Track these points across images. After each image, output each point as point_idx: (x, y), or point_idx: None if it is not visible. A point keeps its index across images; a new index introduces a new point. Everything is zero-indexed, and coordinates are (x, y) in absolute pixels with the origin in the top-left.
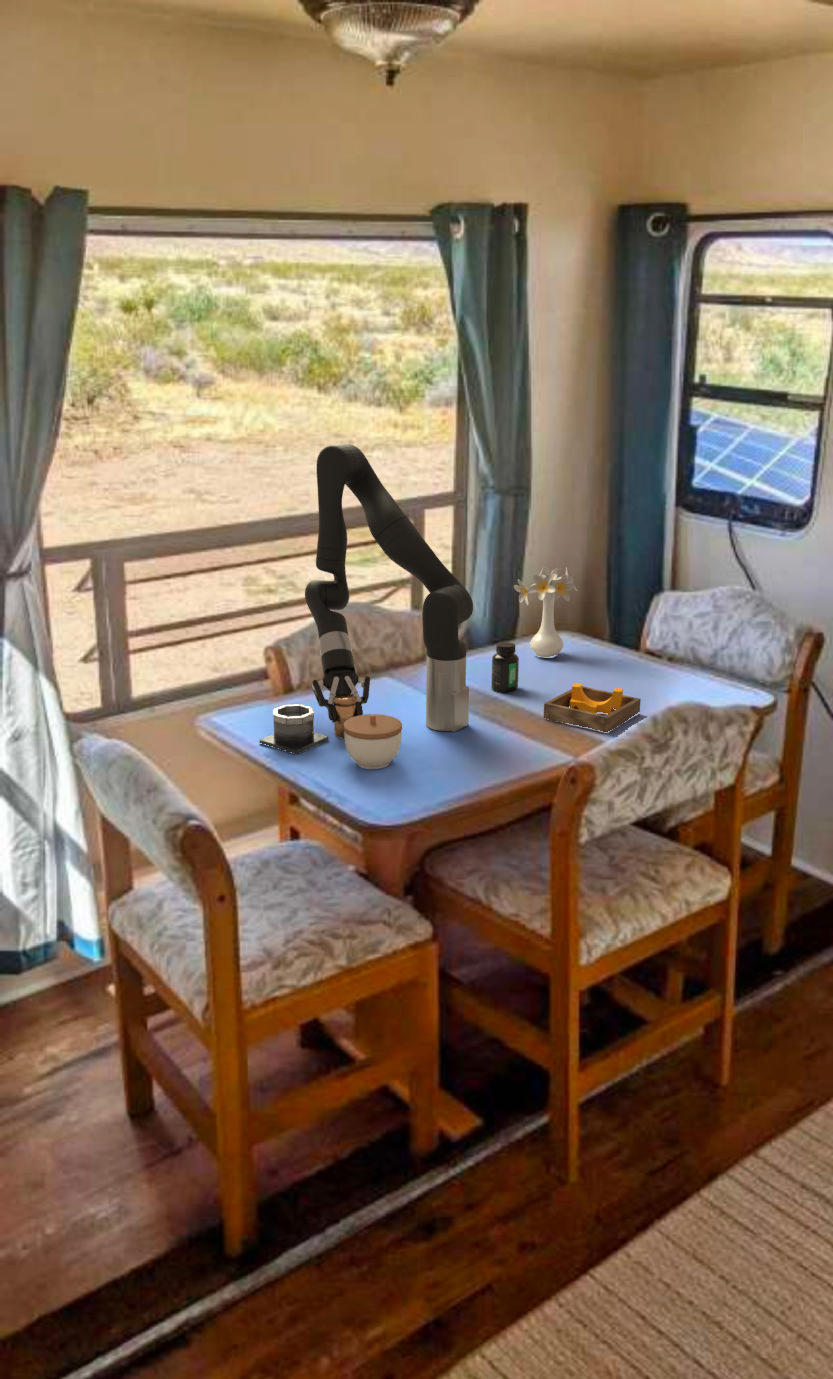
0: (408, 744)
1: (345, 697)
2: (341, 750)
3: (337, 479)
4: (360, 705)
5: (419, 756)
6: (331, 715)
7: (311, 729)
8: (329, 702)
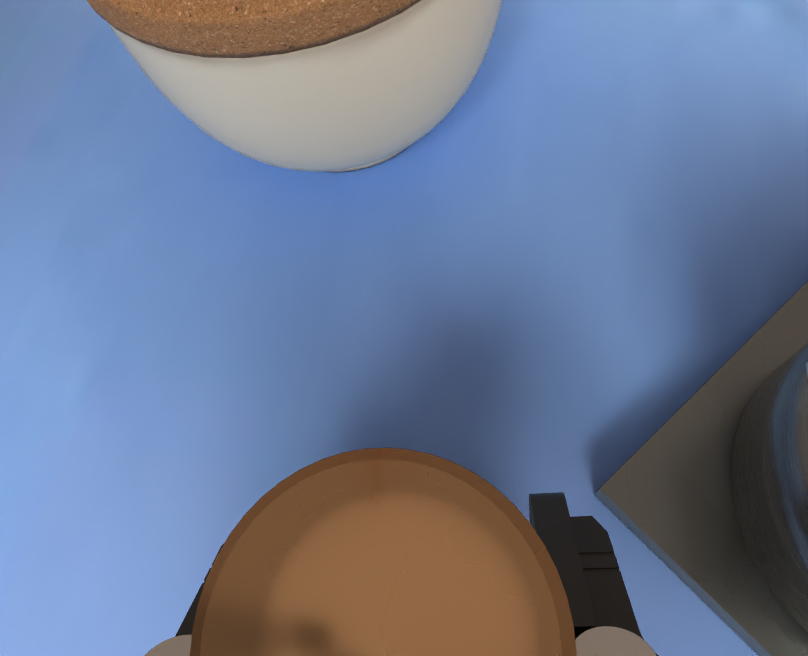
0: (64, 330)
1: (365, 636)
2: (507, 288)
3: None
4: None
5: (86, 157)
6: (585, 535)
7: (788, 372)
8: (631, 646)
